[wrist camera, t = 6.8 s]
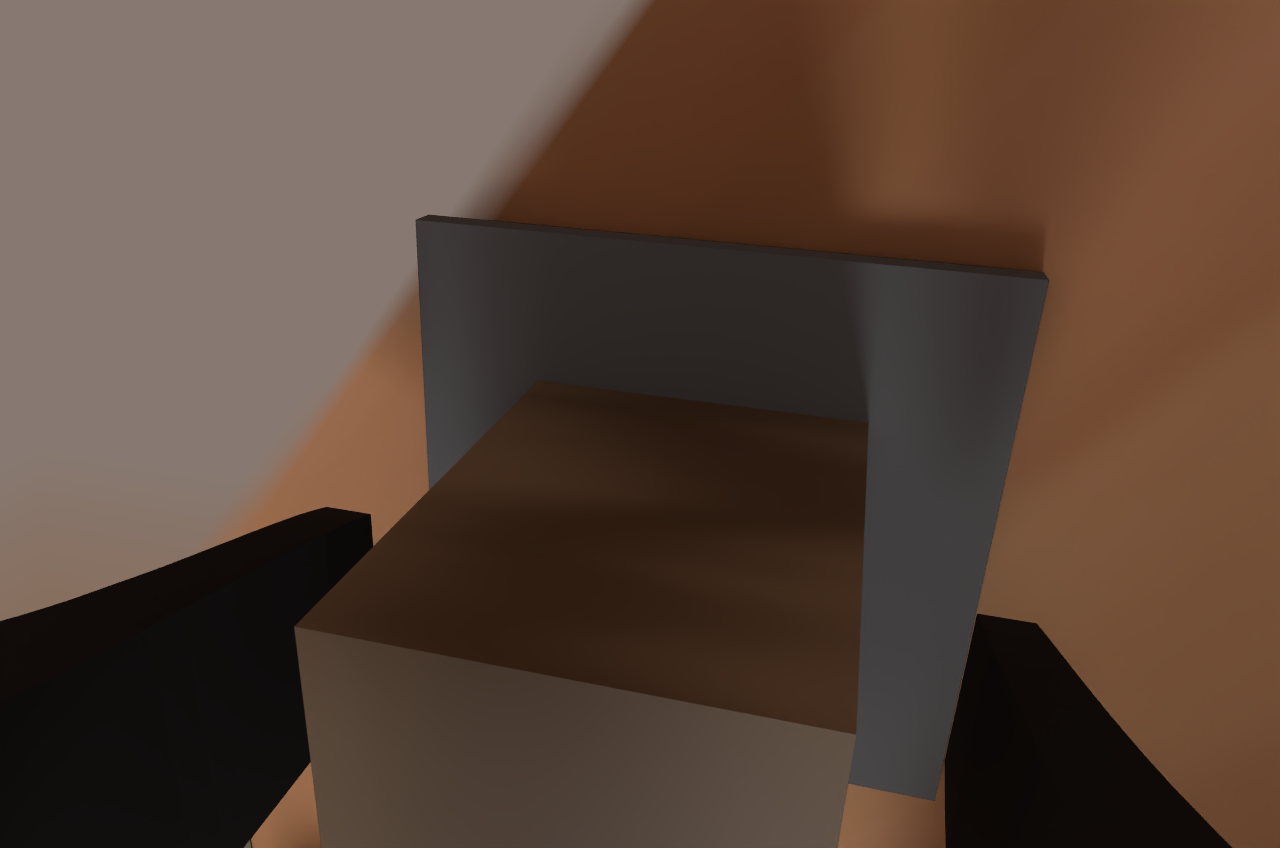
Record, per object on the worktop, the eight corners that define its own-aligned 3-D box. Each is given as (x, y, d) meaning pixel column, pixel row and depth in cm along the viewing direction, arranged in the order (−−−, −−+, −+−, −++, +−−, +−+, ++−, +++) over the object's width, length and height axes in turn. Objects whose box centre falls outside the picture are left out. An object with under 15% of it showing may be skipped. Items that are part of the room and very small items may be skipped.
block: (868, 422, 12) (856, 734, 7) (826, 701, 14) (789, 1124, 9) (537, 380, 13) (293, 626, 8) (537, 648, 15) (339, 1000, 9)
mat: (1044, 272, 11) (1048, 280, 11) (933, 781, 15) (934, 801, 14) (428, 214, 13) (415, 219, 13) (449, 684, 16) (440, 700, 16)
